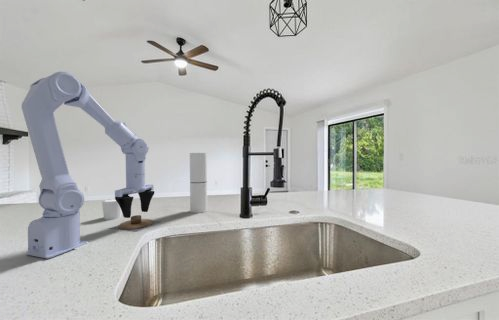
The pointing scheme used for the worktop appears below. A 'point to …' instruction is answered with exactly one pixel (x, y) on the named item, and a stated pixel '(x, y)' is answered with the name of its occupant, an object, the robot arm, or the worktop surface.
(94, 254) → the worktop surface
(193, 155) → the cylindrical container
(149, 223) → the walnut lid
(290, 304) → the worktop surface
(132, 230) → the rubber mat
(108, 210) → the white cup
